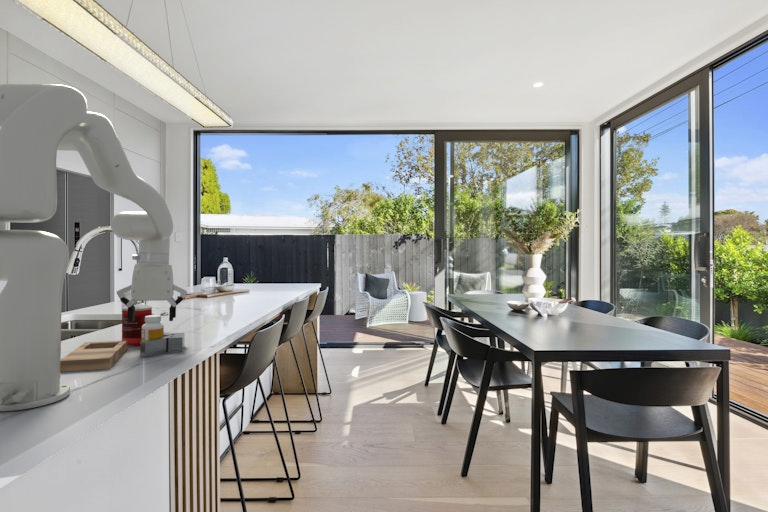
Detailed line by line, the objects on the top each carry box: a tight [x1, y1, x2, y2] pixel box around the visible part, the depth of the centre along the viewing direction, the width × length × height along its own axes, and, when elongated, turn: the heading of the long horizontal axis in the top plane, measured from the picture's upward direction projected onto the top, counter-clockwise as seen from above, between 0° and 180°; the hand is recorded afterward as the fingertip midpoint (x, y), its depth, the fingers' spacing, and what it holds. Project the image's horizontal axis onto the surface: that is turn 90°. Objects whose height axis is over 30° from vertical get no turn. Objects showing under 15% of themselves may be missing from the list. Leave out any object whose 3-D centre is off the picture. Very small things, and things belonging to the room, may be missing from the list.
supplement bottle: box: [142, 314, 165, 341], centre depth 118 cm, size 5×5×10 cm
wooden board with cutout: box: [60, 340, 128, 373], centre depth 107 cm, size 20×10×2 cm, turn 21°
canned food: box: [121, 304, 153, 347], centre depth 126 cm, size 8×8×11 cm
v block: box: [139, 332, 186, 358], centre depth 119 cm, size 10×16×4 cm, turn 21°
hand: (152, 320), depth 117 cm, fingers open, 9 cm apart
